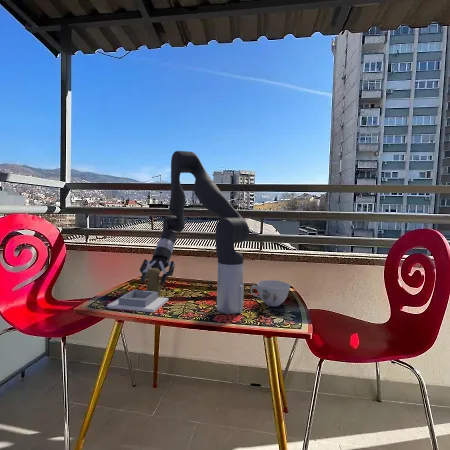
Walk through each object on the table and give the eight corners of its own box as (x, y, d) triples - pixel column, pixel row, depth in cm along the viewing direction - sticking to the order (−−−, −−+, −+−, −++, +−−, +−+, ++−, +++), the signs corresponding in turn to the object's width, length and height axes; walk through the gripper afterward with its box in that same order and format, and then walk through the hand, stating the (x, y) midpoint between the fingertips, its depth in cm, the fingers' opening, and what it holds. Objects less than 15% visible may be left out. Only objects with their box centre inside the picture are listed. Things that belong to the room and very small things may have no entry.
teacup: (288, 299, 112) (289, 280, 112) (290, 311, 100) (291, 289, 99) (251, 297, 115) (251, 278, 114) (248, 307, 102) (249, 286, 102)
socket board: (168, 300, 108) (168, 291, 108) (153, 312, 96) (153, 302, 96) (126, 296, 112) (126, 288, 112) (107, 307, 99) (107, 298, 99)
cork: (157, 297, 112) (157, 270, 111) (143, 295, 113) (143, 269, 113) (163, 292, 118) (163, 267, 117) (150, 291, 119) (150, 266, 118)
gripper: (146, 245, 123) (132, 276, 113) (176, 246, 120) (165, 279, 110) (151, 255, 129) (139, 286, 118) (180, 256, 126) (170, 288, 115)
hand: (152, 282), depth 114 cm, fingers open, 8 cm apart
